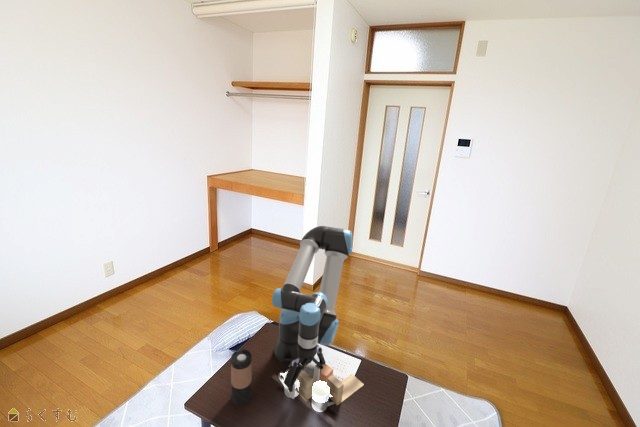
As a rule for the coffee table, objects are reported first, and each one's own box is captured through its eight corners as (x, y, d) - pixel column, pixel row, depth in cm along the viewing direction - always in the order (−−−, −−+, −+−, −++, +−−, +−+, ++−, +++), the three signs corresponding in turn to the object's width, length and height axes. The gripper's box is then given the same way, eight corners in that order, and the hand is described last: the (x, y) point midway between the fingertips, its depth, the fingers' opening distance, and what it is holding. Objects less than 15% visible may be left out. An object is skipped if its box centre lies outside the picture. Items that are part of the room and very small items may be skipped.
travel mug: (244, 409, 114) (244, 367, 108) (227, 402, 116) (226, 360, 110) (255, 393, 121) (255, 352, 115) (239, 387, 123) (238, 346, 117)
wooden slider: (295, 390, 123) (296, 372, 120) (324, 371, 133) (326, 354, 131) (306, 402, 118) (307, 384, 115) (335, 382, 128) (337, 364, 126)
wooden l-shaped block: (324, 395, 122) (326, 377, 119) (351, 376, 132) (353, 359, 130) (337, 407, 117) (339, 389, 114) (363, 386, 127) (366, 369, 125)
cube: (315, 379, 128) (316, 369, 126) (323, 372, 132) (324, 362, 130) (325, 385, 125) (326, 376, 124) (332, 378, 129) (333, 369, 127)
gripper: (287, 363, 104) (285, 411, 110) (337, 335, 119) (332, 378, 126) (275, 350, 109) (273, 397, 115) (324, 325, 125) (320, 367, 131)
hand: (304, 387), depth 121 cm, fingers open, 12 cm apart
